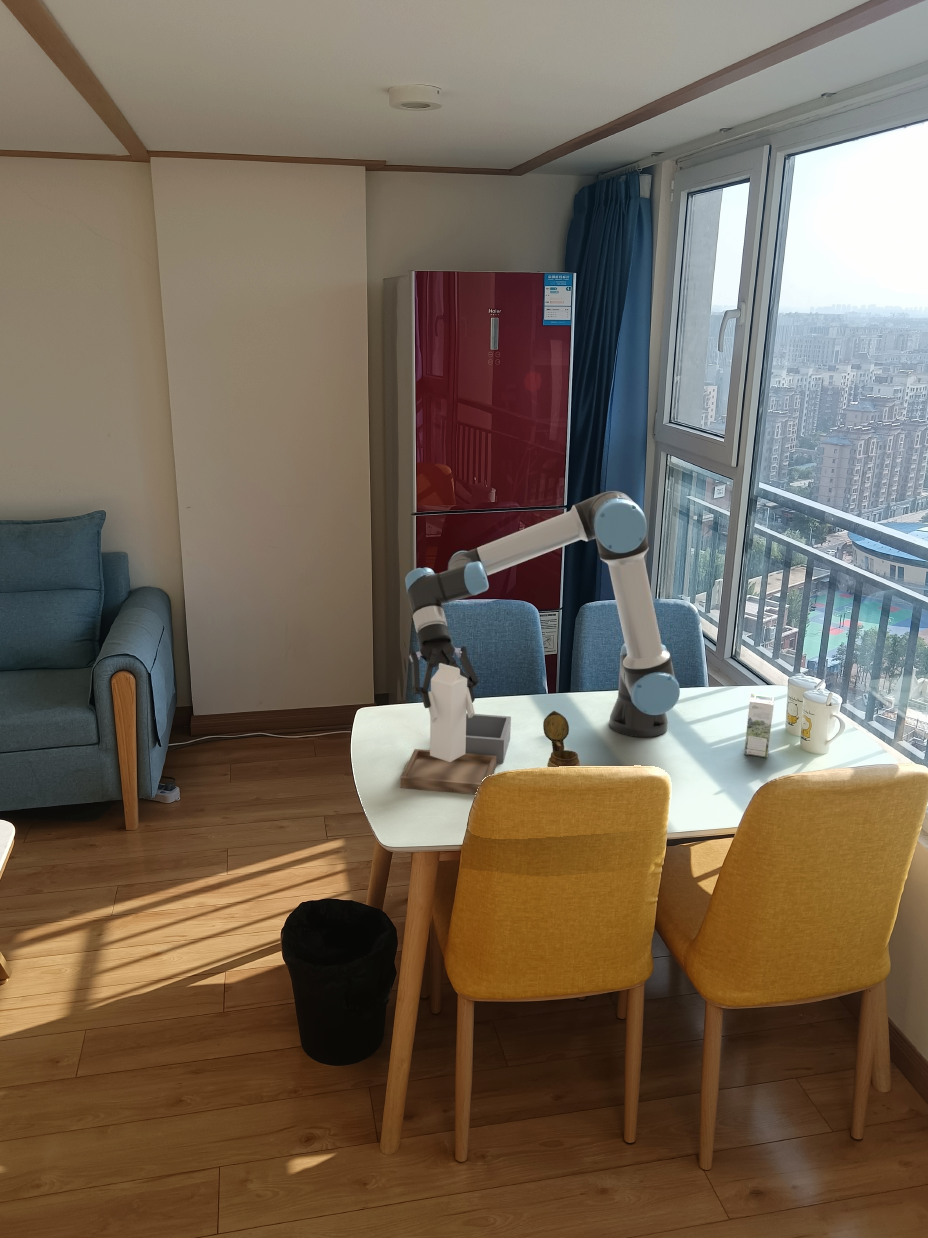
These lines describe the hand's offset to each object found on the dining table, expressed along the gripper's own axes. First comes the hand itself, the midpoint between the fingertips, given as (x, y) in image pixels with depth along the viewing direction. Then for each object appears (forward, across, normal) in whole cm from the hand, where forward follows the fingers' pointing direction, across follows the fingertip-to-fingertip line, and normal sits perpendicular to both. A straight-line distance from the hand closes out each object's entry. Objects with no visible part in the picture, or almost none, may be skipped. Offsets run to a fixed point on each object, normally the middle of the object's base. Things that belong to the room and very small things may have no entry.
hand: (453, 717), depth 221 cm
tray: (+9, 0, -14) cm, 16 cm away
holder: (0, -12, -23) cm, 26 cm away
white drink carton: (+17, -78, -6) cm, 80 cm away
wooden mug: (+21, -21, -2) cm, 30 cm away
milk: (+5, 0, -10) cm, 11 cm away
